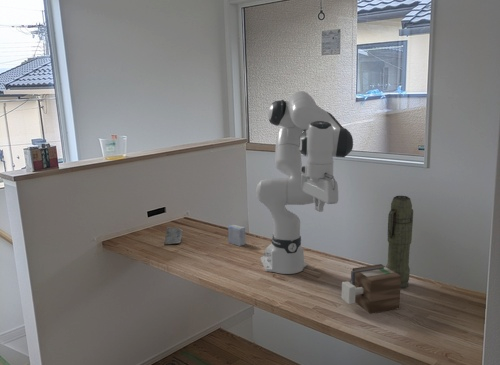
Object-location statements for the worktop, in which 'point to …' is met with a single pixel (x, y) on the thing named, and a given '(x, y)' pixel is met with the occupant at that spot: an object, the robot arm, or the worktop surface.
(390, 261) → the olive green tall piece
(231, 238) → the medicine box
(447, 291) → the worktop surface
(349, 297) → the peg
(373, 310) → the block
